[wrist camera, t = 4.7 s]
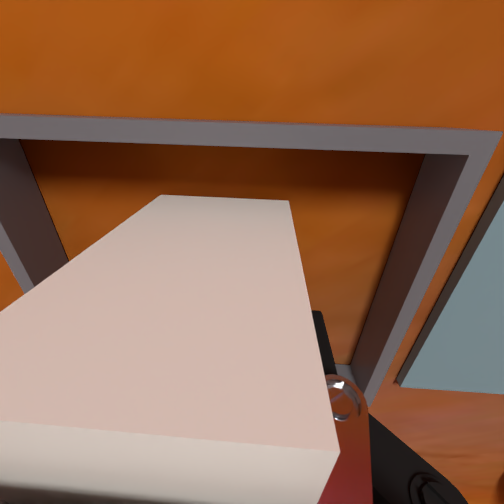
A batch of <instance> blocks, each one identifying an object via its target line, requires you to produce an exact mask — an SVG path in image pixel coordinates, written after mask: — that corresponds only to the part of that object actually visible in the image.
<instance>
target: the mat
mask: <svg viewBox="0 0 504 504" xmlns="http://www.w3.org/2000/svg"><path fill="white" fill-rule="evenodd" d="M397 381H398V383H399V386H400V387H408V388H422V389H437V390H451V391H465V392H479V393H493V394H504V176H503V178H502V180H501V182H500V183H499V185H498V187H497V189H496V191H495V193H494V195H493V197H492V199H491V200H490V202H489V204H488V206H487V208H486V210H485V212H484V214H483V216H482V218H481V219H480V221H479V223H478V225H477V227H476V229H475V231H474V233H473V235H472V236H471V238H470V240H469V242H468V244H467V246H466V248H465V250H464V252H463V254H462V255H461V257H460V259H459V261H458V263H457V265H456V267H455V269H454V271H453V272H452V274H451V276H450V278H449V280H448V282H447V284H446V286H445V288H444V290H443V291H442V293H441V295H440V297H439V299H438V301H437V303H436V305H435V307H434V308H433V310H432V312H431V314H430V316H429V318H428V320H427V322H426V324H425V326H424V327H423V329H422V331H421V333H420V335H419V337H418V339H417V341H416V343H415V344H414V346H413V348H412V350H411V352H410V354H409V356H408V358H407V360H406V362H405V363H404V365H403V367H402V369H401V371H400V373H399V375H398V377H397Z"/></svg>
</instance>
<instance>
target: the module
mask: <svg viewBox="0 0 504 504" xmlns="http://www.w3.org/2000/svg"><path fill="white" fill-rule="evenodd" d="M339 454H340V448H339V443H338V438H337V434H336V429H335V424H334V419H333V414H332V409H331V404H330V400H329V395H328V390H327V385H326V380H325V375H324V370H323V365H322V361H321V356H320V351H319V346H318V341H317V336H316V331H315V327H314V322H313V317H312V312H311V307H310V302H309V297H308V293H307V288H306V283H305V278H304V273H303V268H302V263H301V259H300V254H299V249H298V244H297V239H296V234H295V229H294V225H293V220H292V215H291V210H290V205H289V201H285V200H264V199H242V198H221V197H200V196H178V195H160V196H158V197H157V198H156V199H154V200H153V201H152V202H150V203H149V204H148V205H146V206H145V207H143V208H142V209H141V210H139V211H138V212H137V213H135V214H134V215H133V216H131V217H130V218H128V219H127V220H126V221H124V222H123V223H122V224H120V225H119V226H117V227H116V228H115V229H113V230H112V231H111V232H109V233H108V234H107V235H105V236H104V237H102V238H101V239H100V240H98V241H97V242H96V243H94V244H93V245H91V246H90V247H89V248H87V249H86V250H85V251H83V252H82V253H81V254H79V255H78V256H76V257H75V258H74V259H72V260H71V261H70V262H68V263H67V264H66V265H64V266H63V267H61V268H60V269H59V270H57V271H56V272H55V273H53V274H52V275H50V276H49V277H48V278H46V279H45V280H44V281H42V282H41V283H40V284H38V285H37V286H35V287H34V288H33V289H31V290H30V291H29V292H27V293H26V294H24V295H23V296H22V297H20V298H19V299H18V300H16V301H15V302H14V303H12V304H11V305H9V306H8V307H7V308H5V309H4V310H3V311H1V312H0V500H5V501H6V502H7V503H9V504H317V503H318V501H319V498H320V496H321V494H322V492H323V490H324V487H325V485H326V483H327V481H328V478H329V476H330V474H331V472H332V469H333V467H334V465H335V463H336V461H337V458H338V456H339Z"/></svg>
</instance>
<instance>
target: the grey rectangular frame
mask: <svg viewBox="0 0 504 504" xmlns="http://www.w3.org/2000/svg"><path fill="white" fill-rule="evenodd" d="M502 134H503V132H500V131H487V130H474V129H461V128H440V127H409V126H378V125H346V124H315V123H284V122H253V121H222V120H191V119H160V118H129V117H97V116H66V115H35V114H4V113H0V251H1V252H2V254H3V256H4V258H5V259H6V261H7V263H8V265H9V267H10V268H11V270H12V272H13V274H14V276H15V277H16V279H17V281H18V283H19V285H20V286H21V288H22V290H23V292H24V294H26V293H27V292H29V291H30V290H31V289H33V288H34V287H35V286H37V285H38V284H40V283H41V282H42V281H44V280H45V279H46V278H48V277H49V276H50V275H52V274H53V273H55V272H56V271H57V270H59V269H60V268H61V267H63V266H64V265H66V264H67V263H68V262H69V261H68V259H67V257H66V254H65V252H64V249H63V247H62V244H61V242H60V240H59V237H58V235H57V232H56V230H55V227H54V225H53V222H52V220H51V218H50V215H49V213H48V210H47V208H46V205H45V203H44V200H43V198H42V196H41V193H40V191H39V188H38V186H37V183H36V181H35V178H34V176H33V174H32V171H31V169H30V166H29V164H28V161H27V159H26V157H25V154H24V152H23V149H22V147H21V144H20V142H19V139H38V140H66V141H94V142H122V143H149V144H177V145H205V146H233V147H261V148H288V149H316V150H344V151H372V152H400V153H426V154H425V157H424V160H423V163H422V166H421V168H420V171H419V174H418V177H417V180H416V182H415V185H414V188H413V191H412V194H411V196H410V199H409V202H408V205H407V208H406V210H405V213H404V216H403V219H402V222H401V224H400V227H399V230H398V233H397V236H396V238H395V241H394V244H393V247H392V250H391V252H390V255H389V258H388V261H387V264H386V266H385V269H384V272H383V275H382V278H381V280H380V283H379V286H378V289H377V292H376V294H375V297H374V300H373V303H372V306H371V309H370V311H369V314H368V317H367V320H366V323H365V325H364V328H363V331H362V334H361V337H360V339H359V342H358V345H357V348H356V351H355V353H354V356H353V359H352V362H351V365H341V364H335V366H336V370H337V374H338V375H340V376H342V377H345V378H347V379H349V380H350V381H351V382H353V383H354V384H355V385H356V386H357V387H358V388H359V389H360V390H361V392H362V393H363V395H364V397H365V399H366V402H367V406H368V407H370V406H371V404H372V402H373V400H374V398H375V396H376V393H377V391H378V389H379V387H380V385H381V383H382V381H383V379H384V377H385V375H386V373H387V371H388V369H389V367H390V365H391V363H392V360H393V358H394V356H395V354H396V352H397V350H398V348H399V346H400V344H401V342H402V340H403V338H404V336H405V334H406V332H407V330H408V327H409V325H410V323H411V321H412V319H413V317H414V315H415V313H416V311H417V309H418V307H419V305H420V303H421V301H422V299H423V297H424V294H425V292H426V290H427V288H428V286H429V284H430V282H431V280H432V278H433V276H434V274H435V272H436V270H437V268H438V266H439V264H440V261H441V259H442V257H443V255H444V253H445V251H446V249H447V247H448V245H449V243H450V241H451V239H452V237H453V235H454V233H455V231H456V228H457V226H458V224H459V222H460V220H461V218H462V216H463V214H464V212H465V210H466V208H467V206H468V204H469V202H470V200H471V198H472V195H473V193H474V191H475V189H476V187H477V185H478V183H479V181H480V179H481V177H482V175H483V173H484V171H485V169H486V167H487V165H488V162H489V160H490V158H491V156H492V154H493V152H494V150H495V148H496V146H497V144H498V142H499V140H500V138H501V136H502Z"/></svg>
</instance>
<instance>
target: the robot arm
mask: <svg viewBox="0 0 504 504" xmlns="http://www.w3.org/2000/svg"><path fill="white" fill-rule="evenodd" d="M311 312H312V317H313V322H314V327H315V331H316V336H317V341H318V346H319V351H320V356H321V361H322V365H323V370H324V375H325V380H326V385H327V390H328V395H329V400H330V404H331V409H332V414H333V419H334V424H335V429H336V434H337V438H338V443H339V448H340V454H339V456H338V458H337V461H336V463H335V465H334V467H333V469H332V472H331V474H330V476H329V478H328V481H327V483H326V485H325V487H324V490H323V492H322V494H321V496H320V498H319V501H318V503H317V504H468V503H467V501H466V500H465V498H464V497H463V496H462V494H461V493H460V492H459V490H458V489H457V488H456V487H455V486H453V485H452V484H451V483H450V482H449V481H448V480H447V479H446V478H445V477H444V476H443V475H441V474H440V473H439V472H438V471H437V470H436V469H434V468H433V467H432V466H431V465H430V464H428V463H427V462H426V461H425V460H424V459H423V458H421V457H420V456H419V455H418V454H417V453H415V452H414V451H413V450H412V449H411V448H409V447H408V446H407V445H406V444H405V443H404V442H402V441H401V440H400V439H399V438H398V437H396V436H395V435H394V434H393V433H392V432H391V431H389V430H388V429H387V428H386V427H385V426H383V425H382V424H381V423H380V422H379V421H377V420H376V419H375V418H374V417H373V416H372V415H370V414H369V413H368V406H367V402H366V399H365V397H364V395H363V393H362V392H361V390H360V389H359V388H358V387H357V386H356V385H355V384H354V383H353V382H351V381H350V380H349V379H347V378H345V377H342V376H340V375H338V374H337V370H336V366H335V362H334V358H333V354H332V350H331V347H330V343H329V339H328V335H327V331H326V327H325V323H324V319H323V315H322V313H321V311H313V310H311ZM0 504H9V503H7V502H6V501H5V500H0Z"/></svg>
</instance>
